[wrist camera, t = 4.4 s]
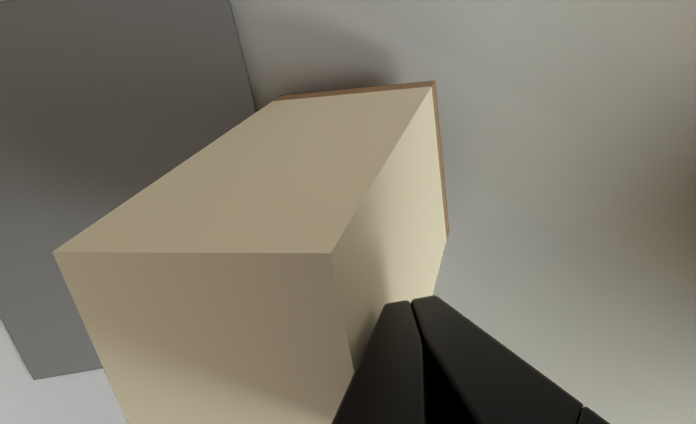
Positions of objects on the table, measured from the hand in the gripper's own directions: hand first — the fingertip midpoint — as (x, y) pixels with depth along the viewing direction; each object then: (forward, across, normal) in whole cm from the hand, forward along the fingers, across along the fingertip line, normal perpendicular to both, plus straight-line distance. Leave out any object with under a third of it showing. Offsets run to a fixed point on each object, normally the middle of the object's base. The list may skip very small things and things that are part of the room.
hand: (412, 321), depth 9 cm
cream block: (+8, 0, 0) cm, 8 cm away
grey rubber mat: (+9, +8, 0) cm, 12 cm away
